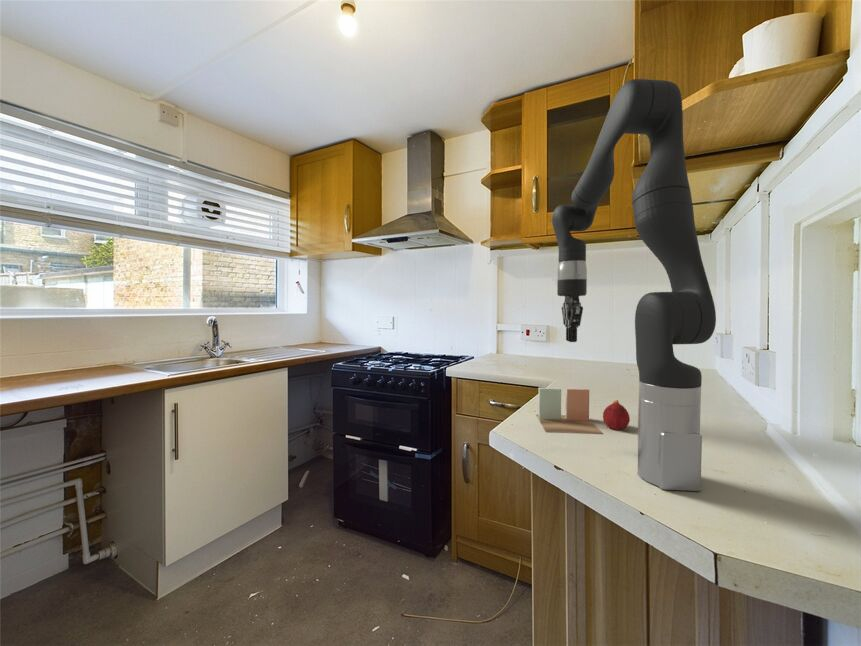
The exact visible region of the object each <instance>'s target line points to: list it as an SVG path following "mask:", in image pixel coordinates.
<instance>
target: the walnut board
mask: <svg viewBox="0 0 861 646" xmlns="http://www.w3.org/2000/svg"><path fill="white" fill-rule="evenodd" d="M535 415H536V417H537V419H538V421H539V423H540V425H541V426H542V428H543V430H544V432H545V433H551V434H553V433H554V434H557V433H558V434H584V435H585V434H586V435H604V433H603V432H602V430H601V429H599V428H598V427H597V426H596V425H595V423H594V422H592V421H591V420H590V419H589V420H567V419H566V414H563V415H562V414H561V419H539V417H538V414H535Z"/></svg>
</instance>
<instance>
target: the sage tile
mask: <svg viewBox="0 0 861 646" xmlns="http://www.w3.org/2000/svg"><path fill="white" fill-rule="evenodd" d="M537 402H538V403H537V404H538V408H537V409H538V410H537V411H538V414H537V415H538V417H539V419H561V415H562V388H561V387H538V401H537ZM538 417H537V418H538ZM539 419H538V420H539Z"/></svg>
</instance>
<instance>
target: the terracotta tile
mask: <svg viewBox="0 0 861 646" xmlns="http://www.w3.org/2000/svg"><path fill="white" fill-rule="evenodd" d="M565 415H566V419H567V420H590V389H589V388H588V387H585V388H584V387H582V388H581V387H566V388H565Z"/></svg>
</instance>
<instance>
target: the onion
mask: <svg viewBox="0 0 861 646" xmlns="http://www.w3.org/2000/svg"><path fill="white" fill-rule="evenodd" d="M602 418H603V422H604V424H605V426H607V428H608V429H611V430H615V431H623V430H624V429H625V428H627V427H628V425H630V421H631V419H630V418H631V417H630V414H629V412H628V410H627V409H626V408H625V407H624V406H623V404H621V403H620V402H619V400H618V399H613V402H612V403H611V404H609V405H607V406H606V408H604V411H603V412H602Z"/></svg>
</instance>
